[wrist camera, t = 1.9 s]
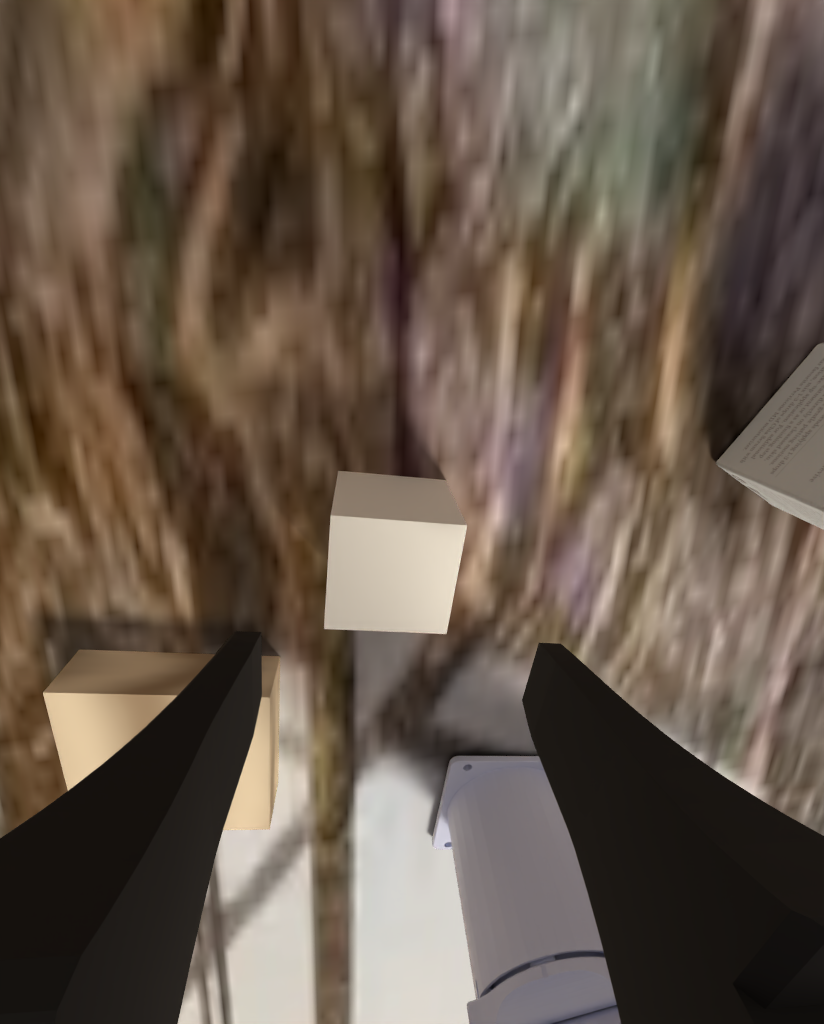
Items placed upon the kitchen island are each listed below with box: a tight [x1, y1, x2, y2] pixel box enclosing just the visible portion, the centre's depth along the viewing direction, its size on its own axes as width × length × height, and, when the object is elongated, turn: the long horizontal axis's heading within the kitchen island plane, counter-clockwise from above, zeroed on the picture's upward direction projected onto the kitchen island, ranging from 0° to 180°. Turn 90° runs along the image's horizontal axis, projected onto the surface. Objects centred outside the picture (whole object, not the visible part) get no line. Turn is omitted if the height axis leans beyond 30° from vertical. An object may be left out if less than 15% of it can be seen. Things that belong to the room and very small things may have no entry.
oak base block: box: [43, 649, 280, 830], centre depth 22 cm, size 9×9×3 cm
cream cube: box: [324, 471, 467, 634], centre depth 18 cm, size 4×4×4 cm
